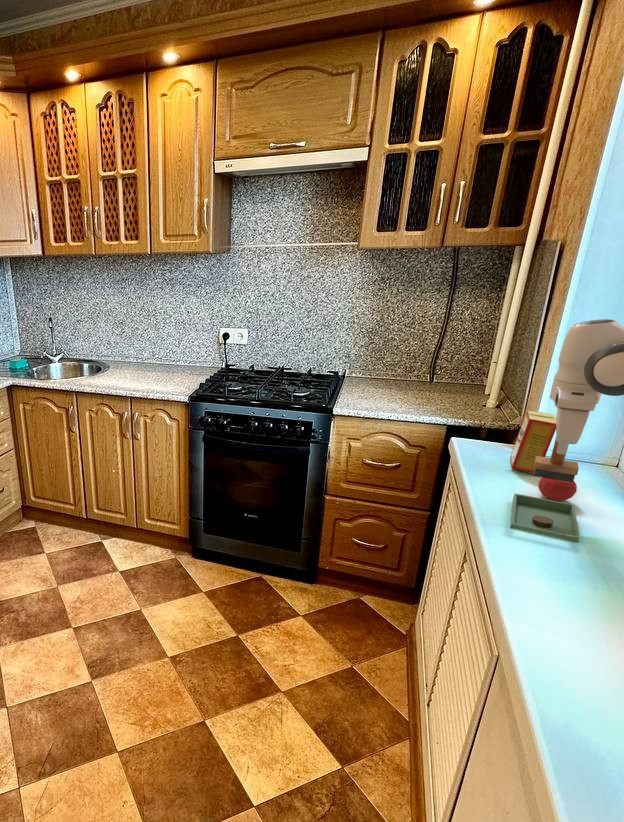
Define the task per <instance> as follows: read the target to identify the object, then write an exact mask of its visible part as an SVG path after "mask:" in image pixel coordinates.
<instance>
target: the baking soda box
mask: <svg viewBox="0 0 624 822" xmlns="http://www.w3.org/2000/svg"><path fill="white" fill-rule="evenodd" d="M555 434H556V415H555V414H552V413H546V412H541V411H537V410H530V409H527V410H526V413H525V415H524V417H523V421H522V423H521V426H520V429H519V431H518V434H517V436H516V440H515V443H514V446H513V448H512V451H511V454H510V456H509V460H510V461H509V463H510V467H511V468H510V469H511V470H516V471H520V472H524V473H529V474H533V475H534V465H535V458H536V456H540V457H546V455H547V453H548V451H549V448H550V446H551V443H552V440H553V438H554V435H555Z"/></svg>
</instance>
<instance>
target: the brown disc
mask: <svg viewBox="0 0 624 822" xmlns="http://www.w3.org/2000/svg"><path fill="white" fill-rule="evenodd" d="M532 523H533V524H534V525H536V526H539V527H543V528H551V527H552V526H553V523H554V521H553V520H552V519H550V518H548V517H545V516H533V518H532Z"/></svg>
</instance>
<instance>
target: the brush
mask: <svg viewBox="0 0 624 822" xmlns="http://www.w3.org/2000/svg"><path fill="white" fill-rule="evenodd" d="M556 437H557V436H555V439H554V443H553V447H552V451H551V455H550V457H546V456H545V457H540V456H536V458H535V465H534V474H533V477H536V478H537V477H538V478H542V477H543V478H548V479H554V480H560V481H566V482H572V483H573V481H574V482H575V477H576V476H578V473H579V469H580V468H579V462H578V461H573V460H567V459H566V456H567V452H568V448H569V446H568V447H567V451H566V454H558V453H556V449H557V445H558V442H557V438H556Z"/></svg>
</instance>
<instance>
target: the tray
mask: <svg viewBox="0 0 624 822" xmlns="http://www.w3.org/2000/svg"><path fill="white" fill-rule="evenodd" d="M533 516H545V517H548V518H550V519H552V520H553V521H554V523H553V526H552V527H551V528H543V527H539V526H536V525H534V524H533V523H532V518H533ZM509 529H515V530H521V531H527V532H530V533H535V534H540V535H544V536H549V537H552V538H553V537H554V538H557V539H562V540H567V541H571V542H576V543H579V541H580V534H579V526H578V518H577V512H576V504H575V503H574V504H573V503H568V502H564V501H556V500H552V499H548V498H541V497H536V496H530V495H525V494H520V493H514V494H513V497H512V502H511V512H510V521H509Z"/></svg>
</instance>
